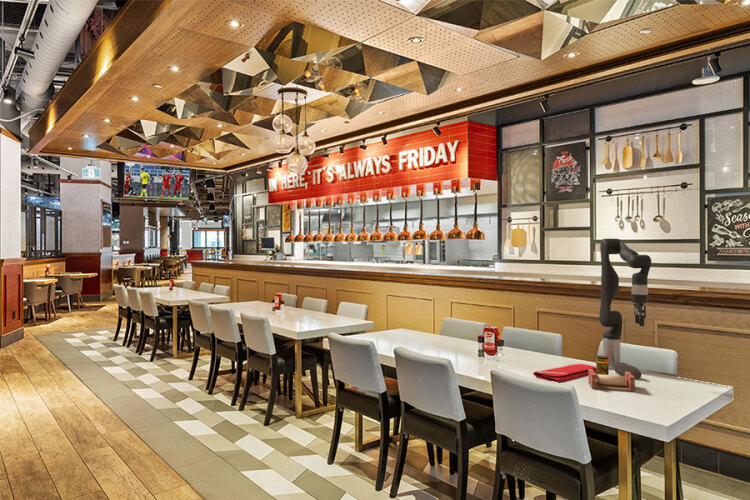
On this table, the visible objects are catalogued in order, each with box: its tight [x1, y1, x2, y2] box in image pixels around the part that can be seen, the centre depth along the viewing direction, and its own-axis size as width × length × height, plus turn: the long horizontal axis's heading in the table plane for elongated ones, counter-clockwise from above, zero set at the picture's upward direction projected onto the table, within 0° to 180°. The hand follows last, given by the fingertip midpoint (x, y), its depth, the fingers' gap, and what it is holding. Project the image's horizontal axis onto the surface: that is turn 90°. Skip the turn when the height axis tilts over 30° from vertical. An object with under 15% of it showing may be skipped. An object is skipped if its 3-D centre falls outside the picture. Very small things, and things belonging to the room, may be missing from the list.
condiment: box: [595, 354, 610, 375], centre depth 255 cm, size 7×8×12 cm
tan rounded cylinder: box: [597, 374, 625, 386], centre depth 238 cm, size 12×5×5 cm, turn 74°
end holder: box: [587, 369, 636, 393], centre depth 238 cm, size 12×19×7 cm, turn 74°
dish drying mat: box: [532, 363, 596, 383], centre depth 264 cm, size 16×41×4 cm, turn 125°
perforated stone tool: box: [614, 361, 642, 380], centre depth 258 cm, size 15×5×7 cm, turn 22°
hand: (639, 324), depth 246 cm, fingers open, 8 cm apart
